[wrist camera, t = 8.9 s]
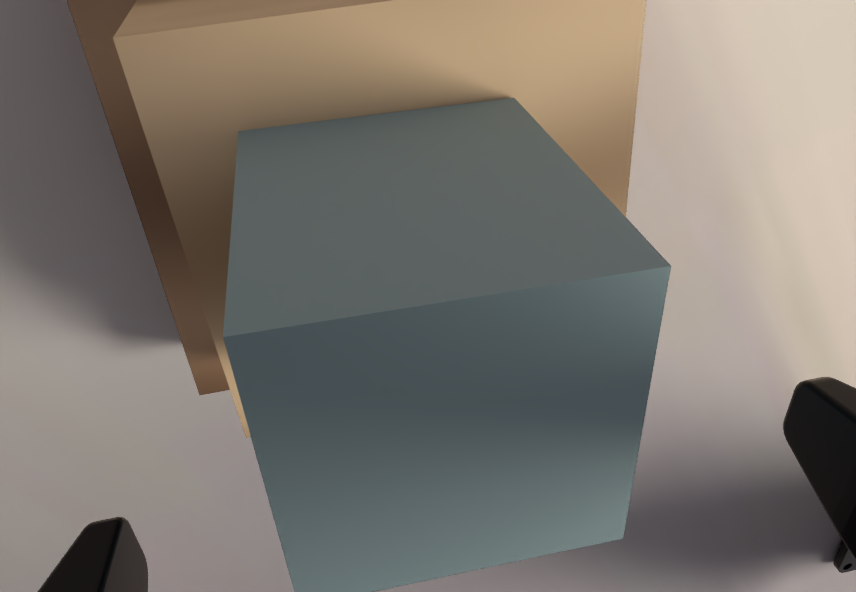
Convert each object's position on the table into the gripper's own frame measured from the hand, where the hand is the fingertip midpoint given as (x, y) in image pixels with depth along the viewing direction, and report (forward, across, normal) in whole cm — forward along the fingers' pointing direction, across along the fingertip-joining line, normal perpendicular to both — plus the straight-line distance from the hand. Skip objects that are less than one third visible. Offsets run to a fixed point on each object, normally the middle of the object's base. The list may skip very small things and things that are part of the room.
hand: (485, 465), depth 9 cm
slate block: (+6, 0, 0) cm, 6 cm away
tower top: (+9, 0, 0) cm, 9 cm away
